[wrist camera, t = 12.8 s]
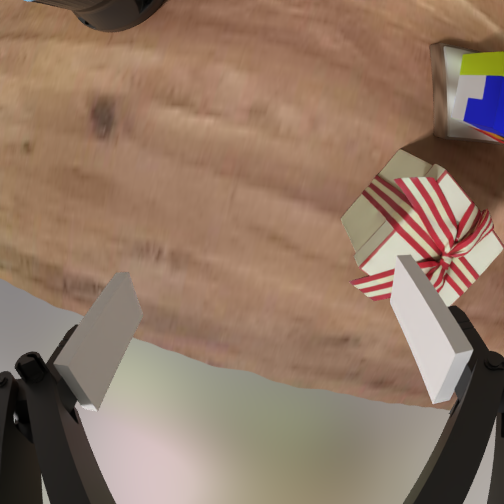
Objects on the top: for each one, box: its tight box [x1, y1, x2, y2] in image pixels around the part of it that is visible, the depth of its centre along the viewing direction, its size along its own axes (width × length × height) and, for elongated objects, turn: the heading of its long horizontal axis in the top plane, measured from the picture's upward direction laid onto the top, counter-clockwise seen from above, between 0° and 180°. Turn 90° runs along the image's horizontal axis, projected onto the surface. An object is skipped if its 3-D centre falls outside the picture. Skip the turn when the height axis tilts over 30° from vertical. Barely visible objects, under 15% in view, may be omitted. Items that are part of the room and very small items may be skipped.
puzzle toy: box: [451, 51, 504, 144], centre depth 28 cm, size 10×10×10 cm
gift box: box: [341, 149, 504, 307], centre depth 38 cm, size 17×18×17 cm
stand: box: [430, 43, 504, 145], centre depth 34 cm, size 14×14×4 cm
